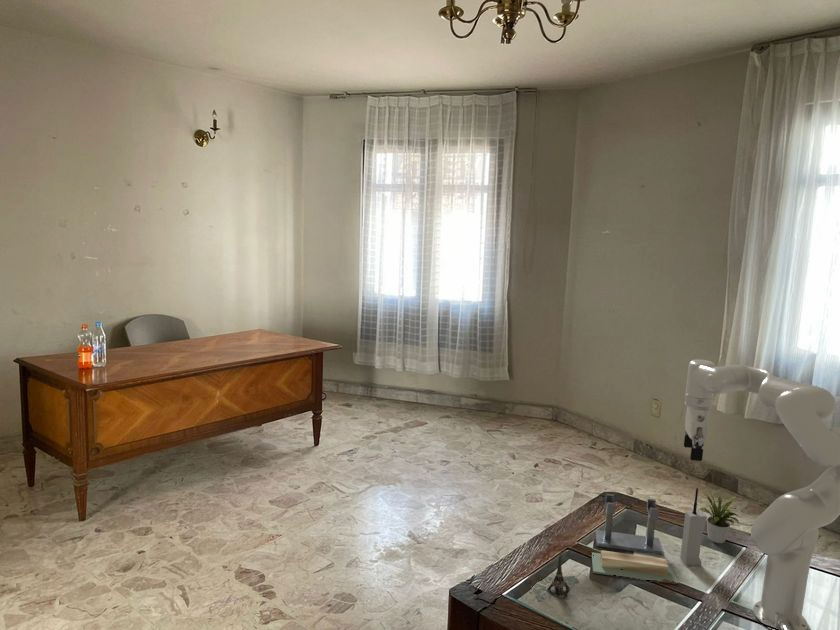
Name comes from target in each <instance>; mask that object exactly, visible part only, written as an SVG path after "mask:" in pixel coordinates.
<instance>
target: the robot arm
mask: <svg viewBox="0 0 840 630" xmlns="http://www.w3.org/2000/svg"><path fill="white" fill-rule="evenodd" d="M687 367H688V368H687V377H686V385H685V395H684V405H685V406H686V411H685V419H684V420H685V422H684V430H685V433H684V437H683V439H684V440H683V447H684V448H690V449H691V450H690V460H691V461H695V462H696V461H697V462H702V461H703V456H704V455H703V454H704V446H705V445H704V441H705V442H707V441H708V439H709V431H710V430H709V429H710V428H709V427H710V410H711V409H712V407H713V399H714V394H716V395H720V394H727V393H732V392H740V391H744V392H749V393H752V394H754V395H756V394H757V395H758V400H759V402H760V403H761V405H763V406H764V407H765V408H768V409H772V410H775V412H776V413H777V416H778V417H779V419H780V420H781V422H782V424H783V425H784V427H785V428H786V430H787V431H788V433H790V435H791V436H792V437H793V439H794V440H795V441H796V442H797V444H798V445H799V446H800V448H801V449H802V450H803V452H804V453H805V454H806V456H807V457H808V458H810V460H811V461H813V462H814V463H815V464H817V465H819V466H821V467H824V468H826V470H825V471H824V472H822V473H821V475H820V476H818V478H816V479H815V480H814V481H813V482H812V483H810V484H809V485H807V486H804V487H801V488H798V489H795V490H792V491H789V492H786V493H784V494H782V495H780V496H779V497H777V498H776V499H775V500H774V501H773V502H771V504H770V505H769V506H768V507H767V508H765V510H763V512H762V513H761V514H760V515H759V516H757V518H756V519H755V520H754V521H753V523H752V525H751V529H750V537H751V540H752V543H753V544H754V546H755V547H756V548H757V549H758V550H759V551H760V552H762V553H764V554H765V555H767V557H766V562H765V563H766V564H765V571H764V578H763V585H762V593H761V597H760V598H761V599H760V601H758V602H756V603H754V604H753V606H752V607H753V608H752V613H753V612H754V614H755V616H756V617H757V618H758V619H759V620H760V621H762V622H763V623H765V624H768V625H770V626H771V627H774V628H776V629H779V630H807V629H808V622H807V619H806V618H805V616H803V610H804V603H805V598H806V597H805V596H806V593H807V592H806V591H807V584H808V577H809V573H810V572H809V571H810V568H811V563H812V562H811V561H812V558H813V554H814V551H815V549H816V547H817V544H818V541H819V534H820V533H819V528H822V527H825V526H828V525H830V524H832V523H833V522H834V521H835V520H837V518H839V516H840V426H837V427H831V428H829V427H828V426H827V425H826V424H825V423H824V421H823V420H825V419H827V418H829V417H830V416H831V415H833V413H835V409H836V407H837V405H836V404H837V401H836V398H835V397H834V395H833V394H832V393H831V392H830V390H827V389H826V388H823V387H819V386H817V385H814V384H813V385H812V384H809V383H804V382H801V381H800V382H799V381H796V380H791V379H787V378H784V377H783V378H782V377H779V376H775V375H774V374H772V373H771V372H770V371H768V370H765V369H763V368H757V367H753V366H749V365H745V364H744V365H743V364H731V365H724V366H716V364H715V363H714V362H713V361H710V360H707V359H699V358H698V359H697V358H696V359H692V360H691V361H689V363H688V366H687ZM754 614H753V615H754ZM755 616H754V617H755ZM756 617H755V618H756ZM762 619H763V620H762ZM764 620H766V621H764Z"/></svg>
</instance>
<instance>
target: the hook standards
mask: <svg viewBox="0 0 840 630" xmlns="http://www.w3.org/2000/svg"><path fill="white" fill-rule="evenodd" d="M614 495H615V494H612V493H606V494H605V510H606V511H605V521H604V530H601V529H595V539H596V540H595V541H596V546H597V547H600V548H608V549H615V550H623V551H628V552H629V551H631V552H637V553H643V554H652V555H658V556H663V553H664V552H663V549H662V545H661V541H660V539H659V537H655V528H656V520H659V512H660V510H659V508H657V507H656V503H657V501H656V499H655V498H654V499H652V498H647V501H646V510H647V513H648V514H647V523H646V533H645V535H639V534H632V533H631V534H629V533H623V532H615V531H613V523H614V522H613V519H614V515H615V514H616V502H614V501H615V500H614V499H615V496H614Z"/></svg>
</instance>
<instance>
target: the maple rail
mask: <svg viewBox="0 0 840 630" xmlns="http://www.w3.org/2000/svg"><path fill="white" fill-rule="evenodd" d="M600 554H601V558H600V560H601V567H608V568H615V569H623V570H630V571H637V572H644V573H651V574H658V575H665V576H667V575H668V564H667V563H668V561H667V558H660V557H653V556H646V555H638V554H631V553H624V552H623V553H622V552H617V551H608V550H600Z"/></svg>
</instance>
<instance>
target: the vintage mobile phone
mask: <svg viewBox="0 0 840 630" xmlns="http://www.w3.org/2000/svg"><path fill="white" fill-rule="evenodd" d="M698 494H699V488H697V487H696V488H695V494H694V496H695V497H694V502H693V509H692V510H690V509H689V510H688V509H687V510H685V512H684V522H683V530H682V531H683V532H682V540H681V548H680V549H681V550H680V560H681V561H682V563H683V564H684V565H685V566H692V567H693V566H694V567H695V566H696V567H700V566H702V561H701V558H700V553H701V543H702V537H703V534H704V532H705V527H706V525H707V518H708V516H707V515H706V514H705V512H703V511H702V510H697V507H698V496H699V495H698Z"/></svg>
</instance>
